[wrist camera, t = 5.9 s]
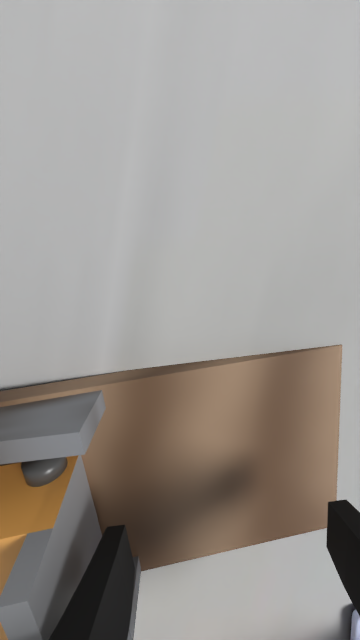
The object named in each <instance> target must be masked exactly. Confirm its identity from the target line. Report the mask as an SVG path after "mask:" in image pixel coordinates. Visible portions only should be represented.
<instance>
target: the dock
mask: <svg viewBox="0 0 360 640" xmlns="http://www.w3.org/2000/svg"><path fill="white" fill-rule="evenodd" d="M341 363H342V345H334V346H326V347H318V348H310V349H301V350H293V351H285V352H276V353H268V354H260V355H251V356H243V357H235V358H226V359H218V360H210V361H202V362H193V363H185V364H177V365H168V366H160V367H152V368H143V369H135V370H127V371H121V372H115V373H109V374H103V375H97V376H91V377H85V378H79V379H72V380H66V381H60V382H54V383H48V384H42V385H36V386H30V387H24V388H17V389H9V390H1V391H0V466H4V465H9V464H14V463H20V462H26V461H35V460H43V459H52V458H60V457H69V456H78V455H81V457H82V460H83V464H84V468H85V472H86V476H87V480H88V483H89V487H90V491H91V495H92V499H93V503H94V506H95V510H96V514H97V518H98V522H99V526H100V530H101V533H102V535H103V533H104V531H105V529H106V528H107V527H109V526H118V525H125V526H126V531H127V535H128V539H129V544H130V548H131V553H132V557H133V561H134V566H135V574H134V588H133V600H132V612H131V618H130V625H129V631H128V638H127V640H133V637H134V628H135V619H136V610H137V601H138V591H139V582H140V573H141V571H144V570H148V569H153V568H157V567H161V566H166V565H170V564H174V563H178V562H183V561H187V560H191V559H195V558H200V557H204V556H208V555H213V554H217V553H221V552H225V551H230V550H234V549H238V548H242V547H247V546H251V545H255V544H260V543H264V542H268V541H272V540H277V539H281V538H285V537H289V536H294V535H298V534H302V533H307V532H311V531H315V530H319V529H324V528H327V517H328V502H330V501H336V495H337V468H338V442H339V416H340V389H341Z"/></svg>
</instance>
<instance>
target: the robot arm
mask: <svg viewBox="0 0 360 640" xmlns="http://www.w3.org/2000/svg"><path fill="white" fill-rule="evenodd" d="M327 548H328V551H329V553H330V555H331V558H332V560H333V563H334V565H335V567H336V570H337V572H338V574H339V576H340V579H341V581H342V583H343V585H344V587H345V589H346V591H347V593H348V595H349V597H350V599H351V601H352V603H353V605H354V607H355V608H356V610H354V611H353V614H352V625H351V640H360V512H359V511H358V510H357V509H355V508H354V507H353V506H352V505H351V504H350V503H349V502H348V501H347V500H339V501H330V502H328V517H327ZM134 574H135V566H134V561H133V557H132V553H131V548H130V544H129V539H128V535H127V531H126V526H125V525H118V526H109V527H107V528H106V529H105V531H104V533H103V535H102V538H101V540H100V542H99V544H98V546H97V548H96V550H95V553H94V555H93V557H92V559H91V561H90V563H89V565H88V567H87V569H86V571H85V573H84V575H83V577H82V579H81V581H80V583H79V585H78V587H77V588H76V590H75V592H74V594H73V596H72V598H71V600H70V602H69V604H68V606H67V607H66V609H65V611H64V613H63V615H62V617H61V619H60V620H59V622H58V624H57V626H56V628H55V629H54V631H53V633H52V635H51V636H50V638H49V640H127V638H128V631H129V625H130V618H131V612H132V600H133V588H134Z"/></svg>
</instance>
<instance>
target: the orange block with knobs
mask: <svg viewBox="0 0 360 640" xmlns="http://www.w3.org/2000/svg"><path fill="white" fill-rule="evenodd" d="M101 538H102V533H101V530H100V526H99V522H98V518H97V514H96V510H95V506H94V503H93V499H92V495H91V491H90V487H89V483H88V480H87V476H86V472H85V468H84V464H83V460H82V457H81V455H78V456H69V457H60V458H52V459H43V460H35V461H26V462H20V463H14V464H9V465H4V466H0V640H49V638H50V636H51V635H52V633H53V631H54V629H55V628H56V626H57V624H58V622H59V620H60V619H61V617H62V615H63V613H64V611H65V609H66V607H67V606H68V604H69V602H70V600H71V598H72V596H73V594H74V592H75V590H76V588H77V587H78V585H79V583H80V581H81V579H82V577H83V575H84V573H85V571H86V569H87V567H88V565H89V563H90V561H91V559H92V557H93V555H94V553H95V550H96V548H97V546H98V544H99V542H100V540H101Z"/></svg>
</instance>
